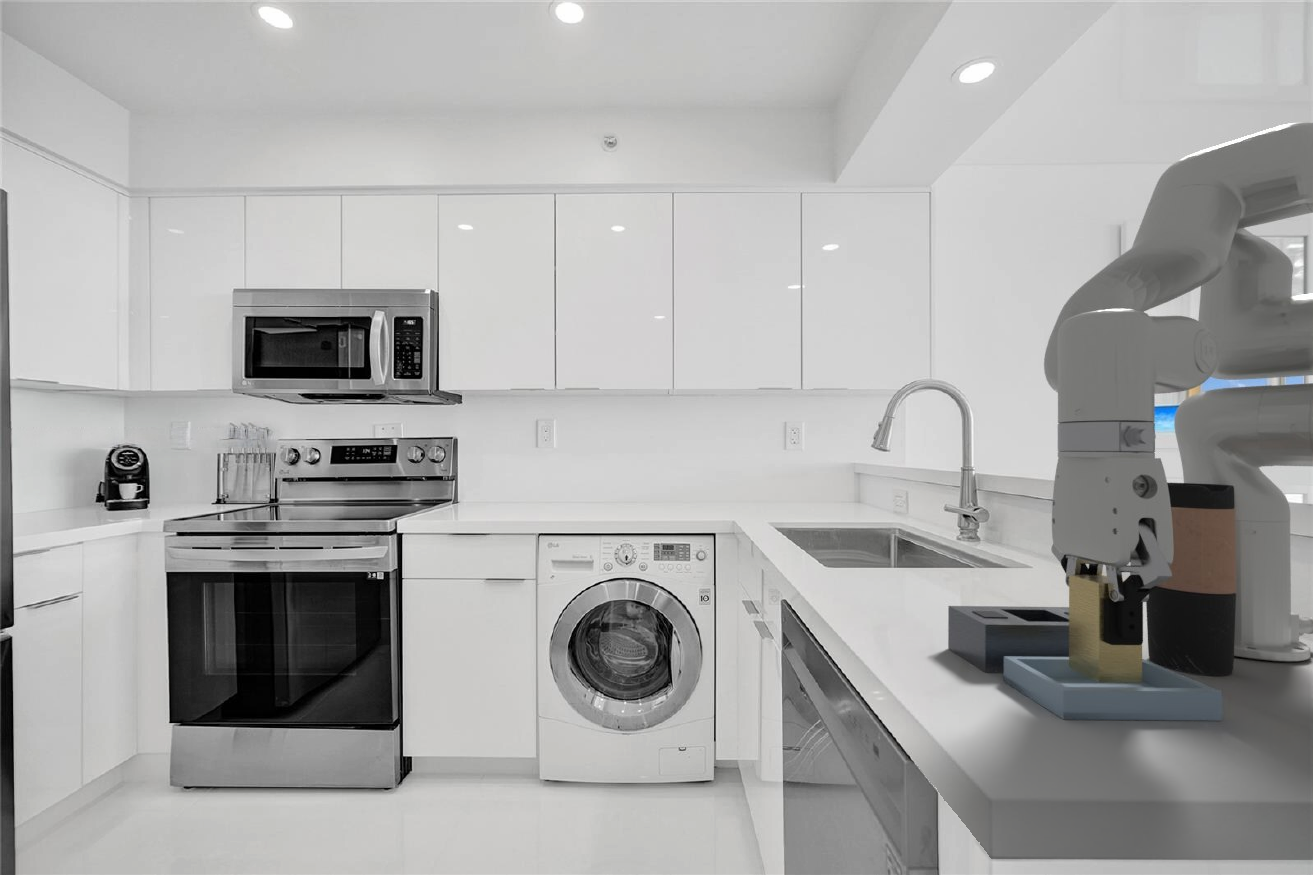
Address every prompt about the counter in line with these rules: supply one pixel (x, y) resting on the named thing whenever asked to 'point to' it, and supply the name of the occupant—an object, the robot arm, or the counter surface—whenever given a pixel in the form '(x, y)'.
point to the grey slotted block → (1007, 633)
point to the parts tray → (1112, 692)
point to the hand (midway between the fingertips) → (1104, 634)
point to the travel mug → (1197, 584)
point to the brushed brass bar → (1097, 635)
